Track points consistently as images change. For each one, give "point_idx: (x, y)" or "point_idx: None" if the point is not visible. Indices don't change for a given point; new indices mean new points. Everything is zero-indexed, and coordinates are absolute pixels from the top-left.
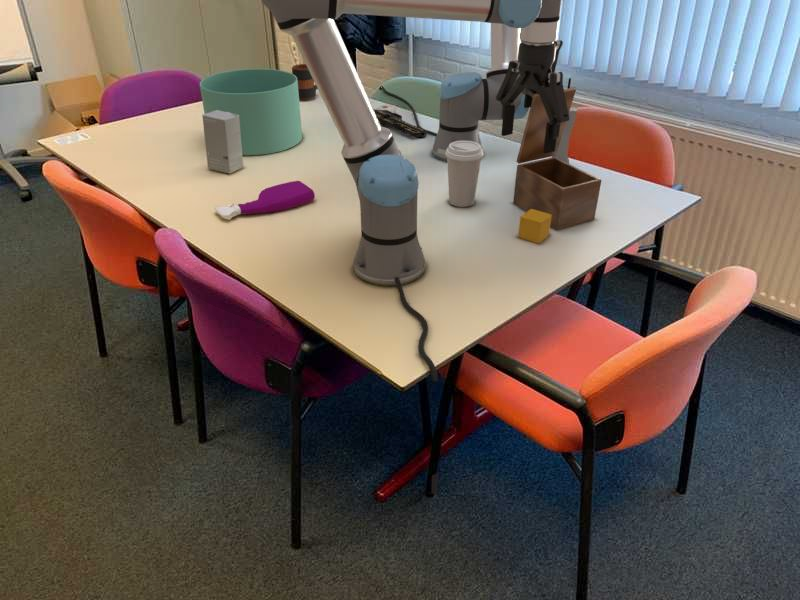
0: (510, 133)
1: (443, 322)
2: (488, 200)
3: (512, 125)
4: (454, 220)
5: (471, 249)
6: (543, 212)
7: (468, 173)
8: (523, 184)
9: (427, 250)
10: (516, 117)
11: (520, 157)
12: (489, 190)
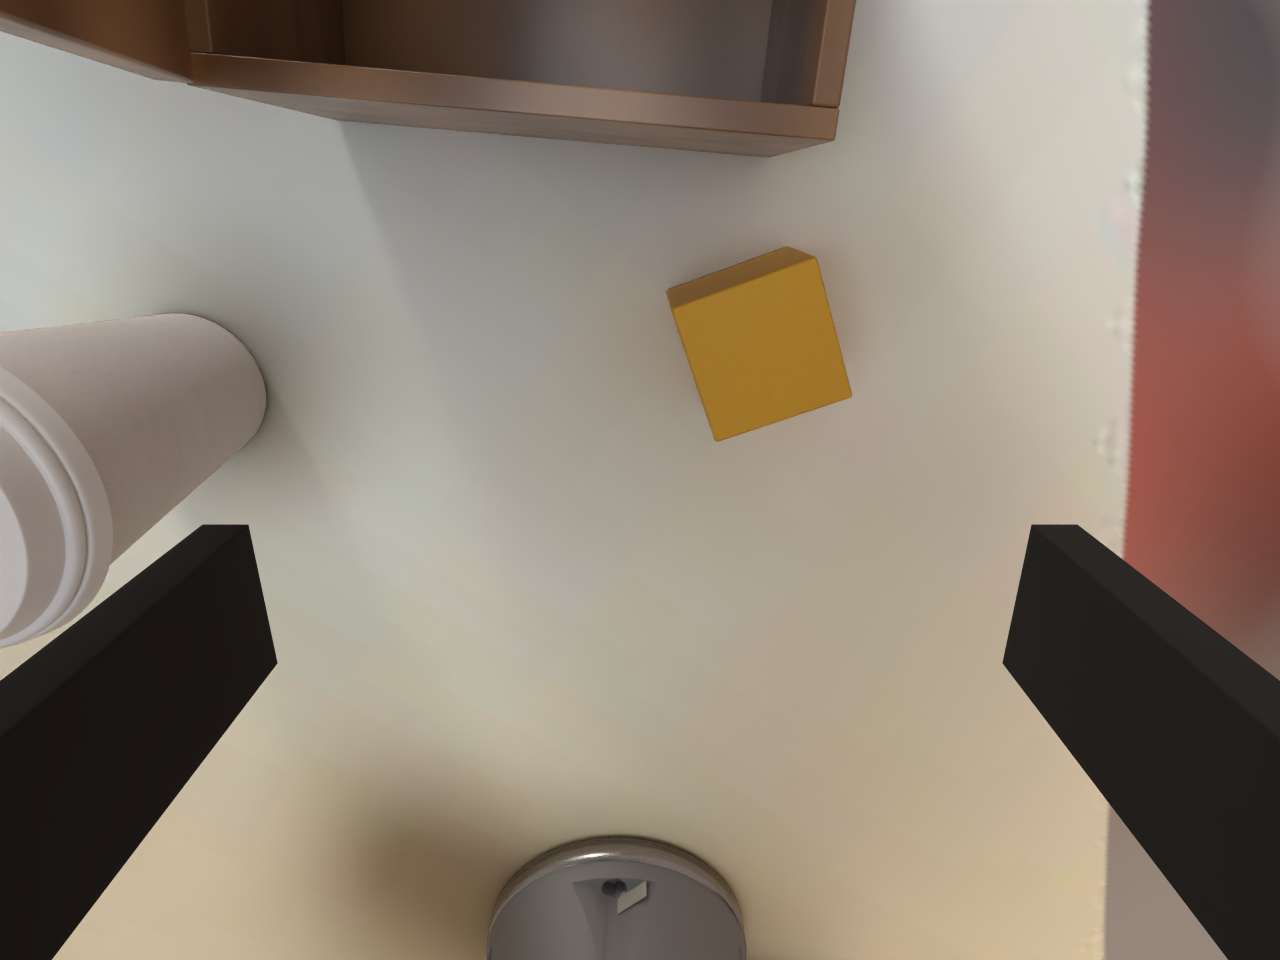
0: (247, 563)
1: (983, 953)
2: (229, 227)
3: (179, 598)
4: (383, 545)
5: (670, 646)
6: (762, 283)
7: (159, 496)
8: (364, 110)
9: (576, 779)
10: None
11: (170, 70)
12: (83, 109)
